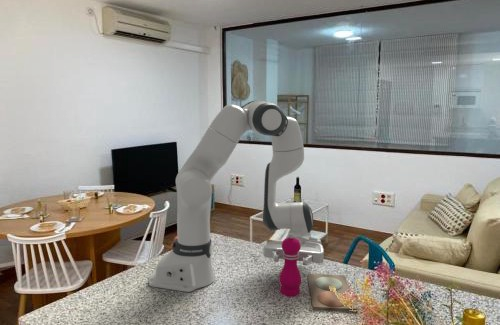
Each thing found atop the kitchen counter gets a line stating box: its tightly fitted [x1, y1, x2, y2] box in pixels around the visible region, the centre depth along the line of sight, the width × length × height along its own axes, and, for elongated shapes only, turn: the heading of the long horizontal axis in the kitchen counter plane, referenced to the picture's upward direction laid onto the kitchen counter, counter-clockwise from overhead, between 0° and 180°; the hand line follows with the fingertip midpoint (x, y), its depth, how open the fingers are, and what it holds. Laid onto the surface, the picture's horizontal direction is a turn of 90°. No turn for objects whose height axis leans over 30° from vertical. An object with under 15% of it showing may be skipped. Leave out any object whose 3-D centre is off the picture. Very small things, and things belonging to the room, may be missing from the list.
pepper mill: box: [278, 233, 302, 298], centre depth 119 cm, size 7×7×20 cm
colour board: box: [306, 273, 358, 312], centre depth 121 cm, size 13×22×1 cm, turn 175°
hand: (290, 261), depth 119 cm, fingers open, 8 cm apart
